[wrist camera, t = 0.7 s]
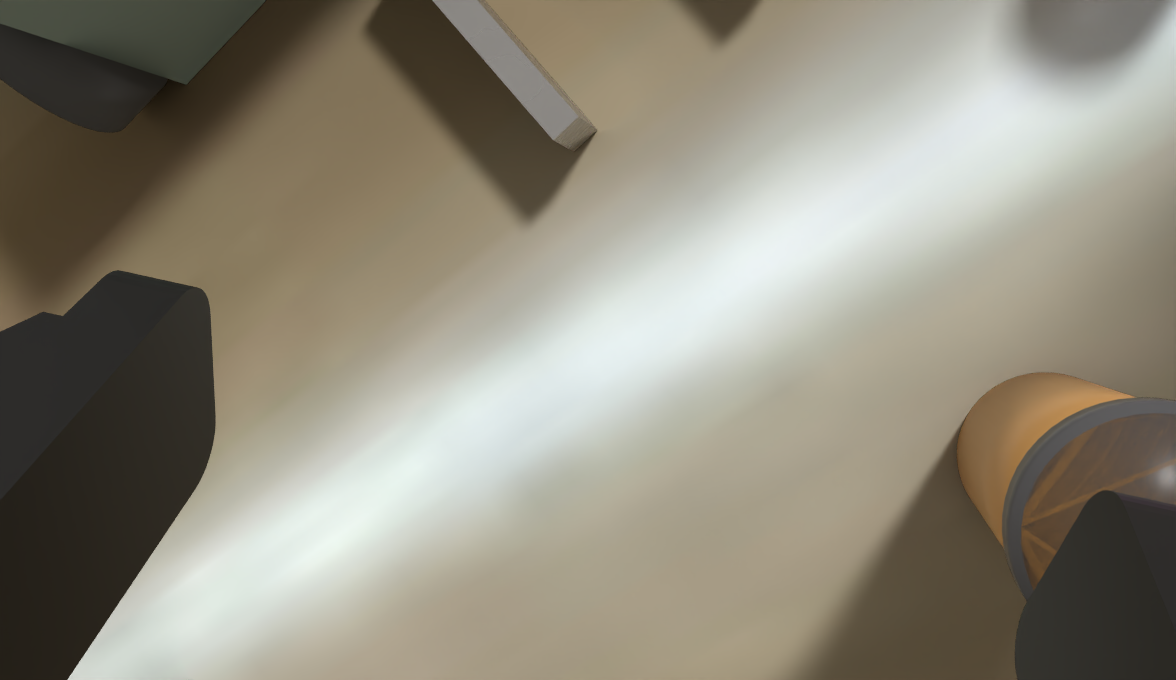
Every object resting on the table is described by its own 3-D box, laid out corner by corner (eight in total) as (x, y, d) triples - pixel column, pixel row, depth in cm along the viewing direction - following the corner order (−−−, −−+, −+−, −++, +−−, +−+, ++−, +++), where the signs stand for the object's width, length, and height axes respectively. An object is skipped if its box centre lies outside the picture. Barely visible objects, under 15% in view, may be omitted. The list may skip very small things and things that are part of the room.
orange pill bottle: (1056, 328, 30) (1177, 344, 19) (1185, 469, 30) (1384, 566, 19) (911, 443, 31) (951, 518, 20) (1033, 582, 31) (1139, 734, 20)
